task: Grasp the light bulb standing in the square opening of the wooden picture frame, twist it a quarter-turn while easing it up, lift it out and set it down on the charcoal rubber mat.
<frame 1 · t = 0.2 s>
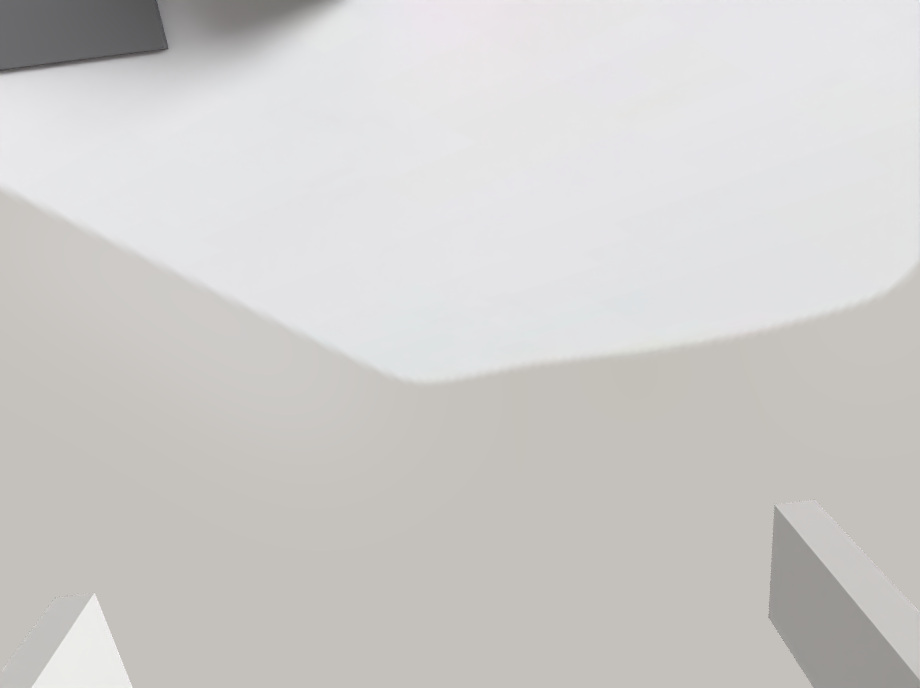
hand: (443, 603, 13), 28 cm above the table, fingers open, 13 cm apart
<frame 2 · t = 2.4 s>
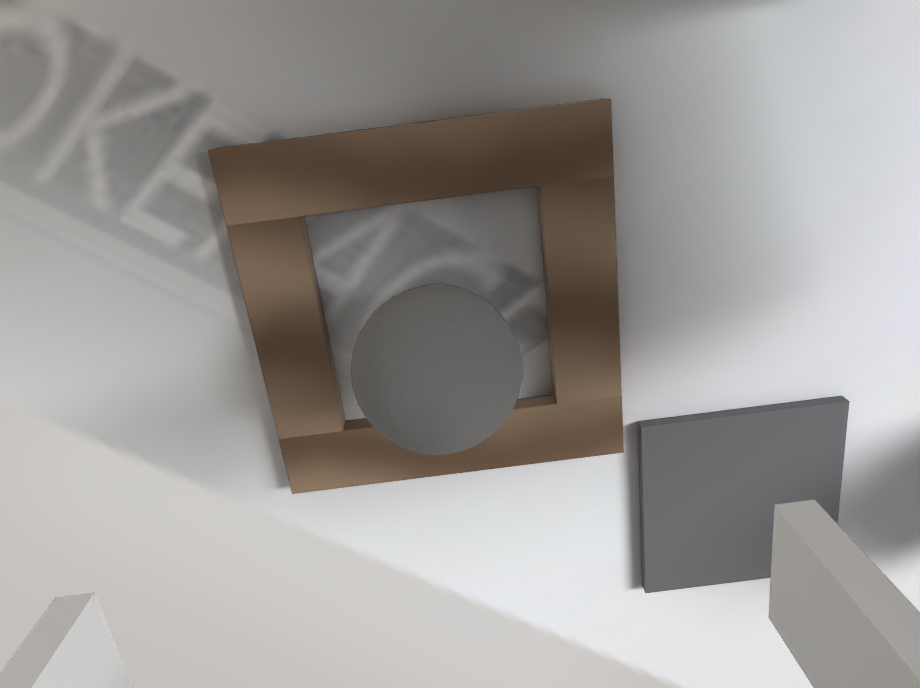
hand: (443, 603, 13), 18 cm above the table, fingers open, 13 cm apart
light bulb: (435, 307, 31), resting in wooden picture frame
mat: (736, 495, 35), on the table
wooden picture frame: (435, 308, 30), on the table
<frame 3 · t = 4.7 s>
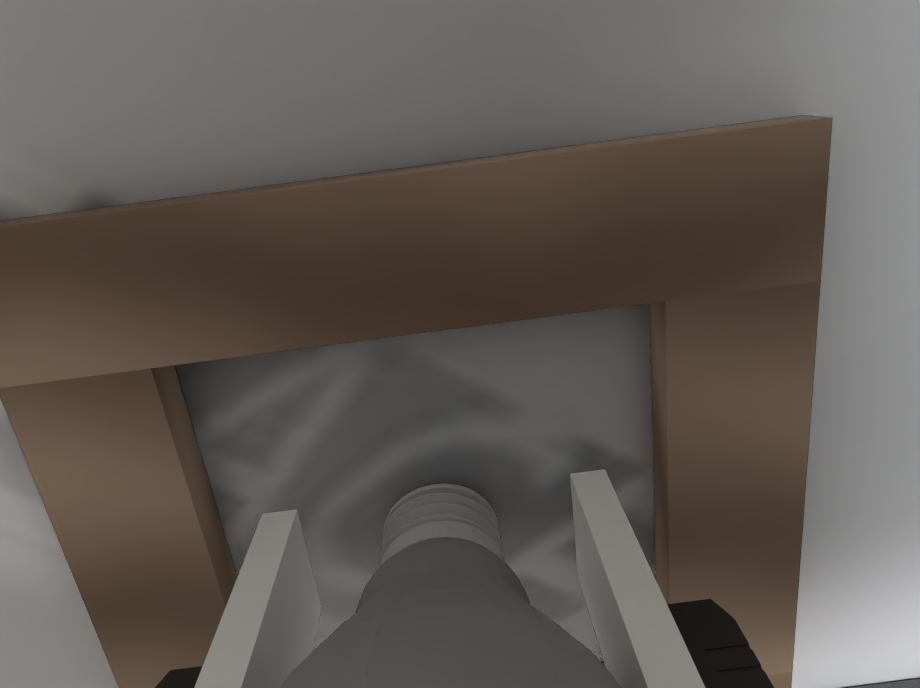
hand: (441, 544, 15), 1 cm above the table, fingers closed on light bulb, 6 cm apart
light bulb: (440, 514, 16), resting in wooden picture frame, touching gripper
wooden picture frame: (441, 519, 16), on the table
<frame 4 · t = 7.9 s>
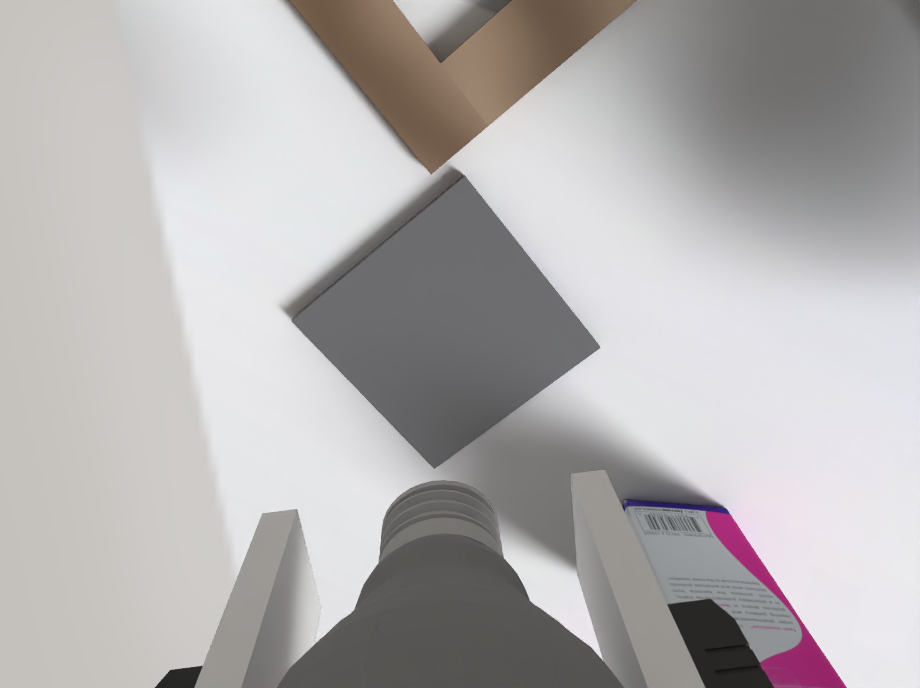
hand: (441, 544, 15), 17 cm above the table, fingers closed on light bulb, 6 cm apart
light bulb: (439, 512, 16), point 16 cm above the table, touching gripper
mat: (448, 330, 31), on the table
supplement box: (662, 545, 36), on the table
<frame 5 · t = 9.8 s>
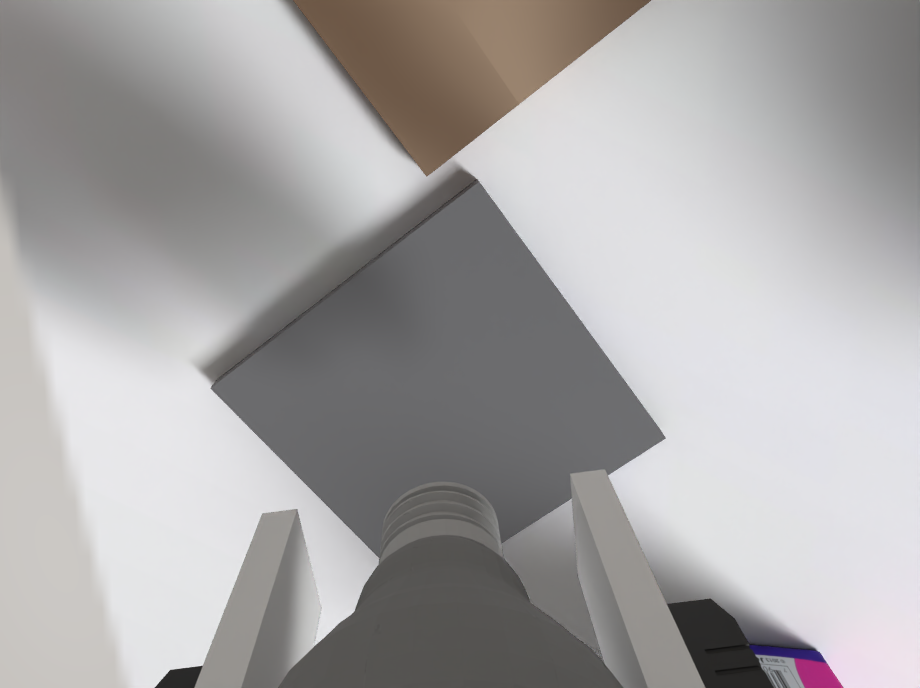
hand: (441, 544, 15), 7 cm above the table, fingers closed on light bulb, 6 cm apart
light bulb: (440, 513, 16), point 6 cm above the table, touching gripper
mat: (444, 405, 21), on the table
when the fingers open (2 cm above the table, at t = 11.1 s): light bulb stays where it is, resting on mat.
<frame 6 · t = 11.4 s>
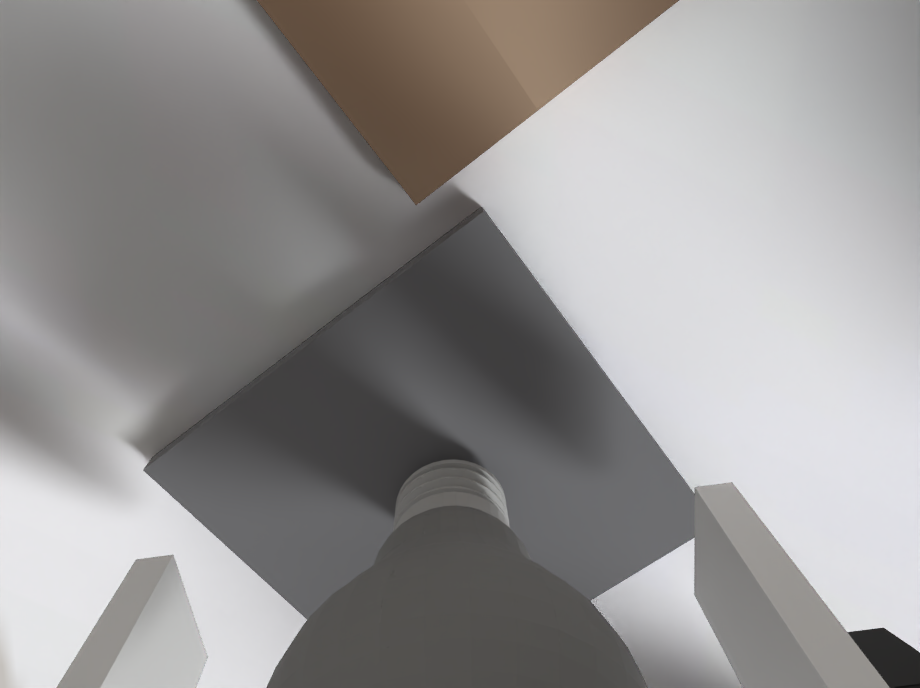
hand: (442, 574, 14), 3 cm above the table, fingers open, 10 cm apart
light bulb: (450, 491, 17), resting on mat
mat: (439, 484, 17), on the table
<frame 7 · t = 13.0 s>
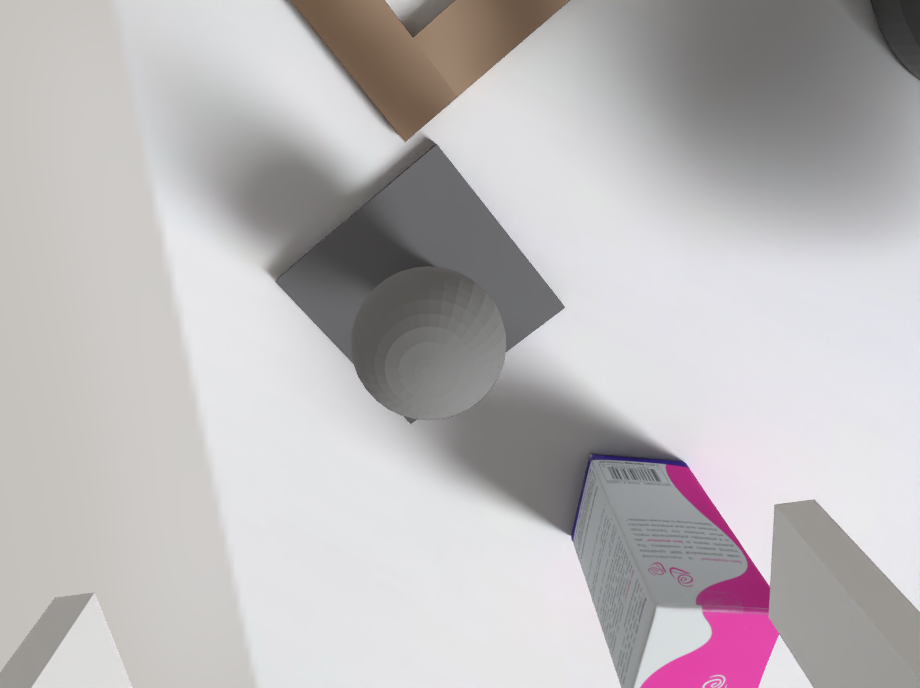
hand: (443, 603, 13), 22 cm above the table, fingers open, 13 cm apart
light bulb: (427, 291, 33), resting on mat
mat: (422, 291, 33), on the table
supplement box: (626, 499, 39), on the table
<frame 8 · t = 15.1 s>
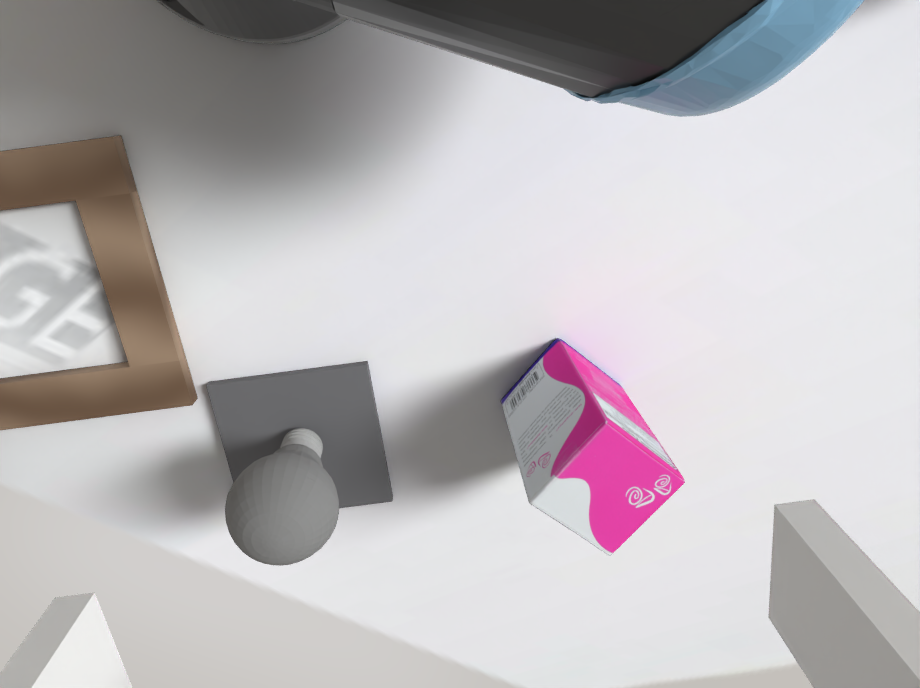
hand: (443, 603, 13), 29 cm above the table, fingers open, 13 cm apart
light bulb: (304, 440, 43), resting on mat
mat: (304, 441, 44), on the table
supplement box: (561, 392, 44), on the table
wooden picture frame: (27, 293, 40), on the table
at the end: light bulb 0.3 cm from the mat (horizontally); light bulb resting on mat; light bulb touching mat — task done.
